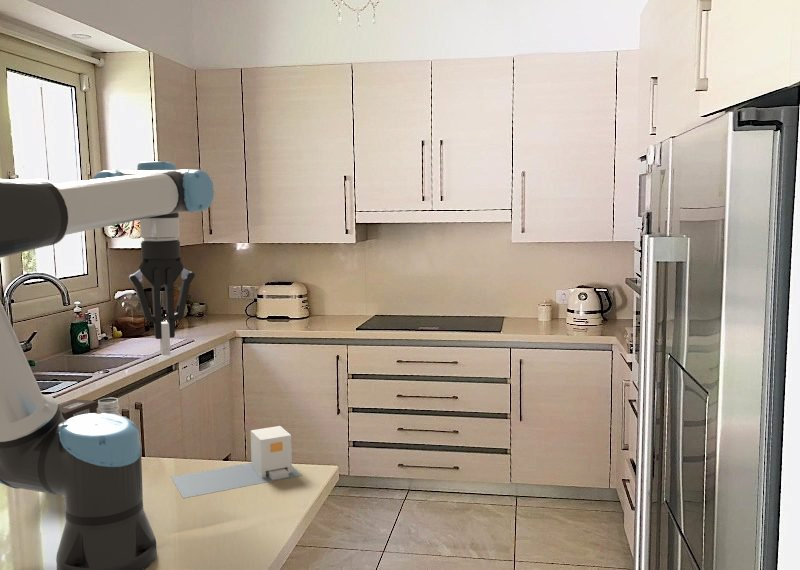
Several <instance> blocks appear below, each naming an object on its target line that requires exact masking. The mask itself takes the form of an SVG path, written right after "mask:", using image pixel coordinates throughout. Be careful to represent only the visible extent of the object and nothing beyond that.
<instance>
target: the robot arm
mask: <svg viewBox="0 0 800 570" xmlns="http://www.w3.org/2000/svg"><path fill="white" fill-rule="evenodd" d="M214 195H215V191H214V183H213V180H212V178H211V177H210V175H209V174H208V173H207V171H204V170H201V169H192V168H188V169H177V167H176V165H175V163H174V162H171V161H153V160H152V161H151V160H150V161H139V162H138V164H137V169H135V170H132V169H131V170H117V169H109V170H102V171H99V172H97V173H96V174H95V175H94V176H93V177H92V179H89V180H88V179H87V180H80V181H79V180H78V181H77V180H76V181H69V182H62V183H53V182H51V181H49V180H48V179H44V178H34V179H33V178H31V179H11V178H10V179H8V178H7V179H6V178H0V259H1V258H5V257H8V256H13V255H17V254H21V253H24V252H28V251H32V250H36V249H40V248H44V247H48V246H54V245H55V244H58V243H60V242H61V241H63V239H64V238H65V237H66V236H68V235H72V234H77V233H81V232H86V231H91V230H95V229H101V228H106V227H111V226H114V225H115V226H116V225H120V224H124V223H125V224H126V223H130V222H135V221H139V224H140V226H139V227H140V229H139V230H140V238H142V239H143V240H141V242H140V250H141V252H140V253H141V263H140V265H139V268H138V270H137V271H136V272H134V273H133V274H129V275H128V279H129V281H130V282H131V283H132V285H133V286H134V288H135V293H136V295H137V299H138V302H139V305H140V309H141V312H142V315H143V318H144V319H145V320H146V321H147V322H150V323H153V330H154V333H153V334H154V337H155V339H156V340H159V343H160V344H159V345H160V347H159V348H160V354H161V355H162V356H170V355H171V338H172V339H173V338H175V336H176V335H175V333H176V332H175V323H176V321H179V320H181V319H183V318H184V317H185V310H186V305H187V300H188V296H189V291H190V285H191V283H192V281H193V279H194V278H195V276H196V273H194V272H193V271H190V270H188V269H186V268H185V267H184V264H183V262H182V260H181V241H180V240H179V239H178V238H179V237H180V236H181V234H180V217H179V213H180V212H181V213H183V212H185V213H186V212H189V213H194V212H203V211H205V210H207V209H209V208H210V206H212V203H213V200H214V197H215V196H214ZM143 277H145V279H146V280H147V281H148V283H149V284H150V285H151V295H152V313H151V310H150V309H151V308H150V307H149V303H148V300H147V296H146V294H145V290H144V287H143V284H142V282H143V280H144V279H143ZM179 277H181V285H180V289H179V292H178V293H179V294H178V299H177V303H176V307H175V299H174V295H175V294H174V289H175V287H174V286H175V285H174V283H176V281H177V279H178V278H179ZM162 285H164V296H165V299H164V300H165V313H166V314H165V315H166V321H162V300H161V298H162V297H161V288H162V287H161V286H162ZM2 303H3V302H2V300H0V485H4V486H7V487H9V488H13V489H18V490H19V489H22V490H28V491H32V492H41V493H46V494H50V495H57V496H62V497H64V509H65V510H64V511H65V524H64V528H63V531H62V534H61V539H60V542H59V544H58V548H57V552H56V557H55V558H56V559H55V561H56V570H144V569H146V568H147V567H149V566H150V565H151V564H152V563H153V562H154V561H155V559H156V557H157V552H158V550H157V539H156V536H155V534H154V531H153V529H152V527H151V525H150V522H149V519H148V516H147V515H146V512H145V509H144V499H143V497H144V495H143V466H142V465H143V464H142V463H143V462H142V451H143V450H142V444H141V441H140V432H139V430H138V429H139V428H138V426H137V425H136V424H135V423H134V421H133V420H132V419H129V418H128V417H125V416H124V415H123V416H122V415H121V416H120V415H116V414H110V413H101V414H100V413H97V414H96V413H88V414H82V415H77V416H74V417H72V418H69V419H68V420H65V419H64V418H63V415H62V413H61V411H60V409H59V406H58V404H59V403H58V402H57V400H56V399H55V398H54V397H52V396H50V395H45V394H43V393H42V390H41V389H40V387H39V384H38V381H37V380H36V377H35V376H34V375H35V374H34V373H33V371H32V368H31V366H30V364H29V361H28V359H27V358H26V354H25V353H24V350H23V348H22V346H21V343H20V341H19V339H18V337H17V335H16V332H15V330H14V328H13V326H12V324H11V321H10V319H9V317H8V314H7V312H6V310H5V308H4V306H3V305H4V304H2Z"/></svg>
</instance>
